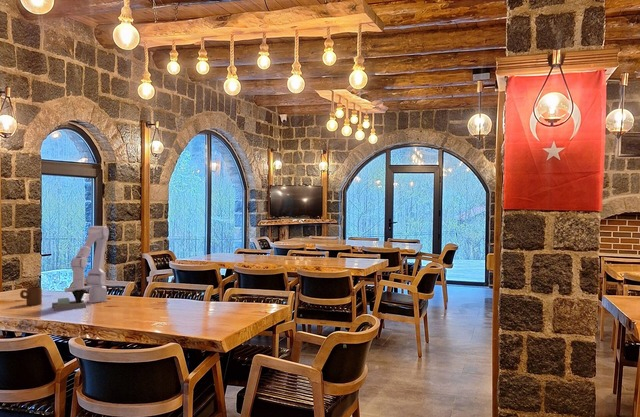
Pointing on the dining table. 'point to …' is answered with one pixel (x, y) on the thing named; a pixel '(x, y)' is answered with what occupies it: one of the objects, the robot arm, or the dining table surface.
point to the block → (63, 301)
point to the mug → (32, 296)
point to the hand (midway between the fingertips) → (78, 303)
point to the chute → (69, 305)
